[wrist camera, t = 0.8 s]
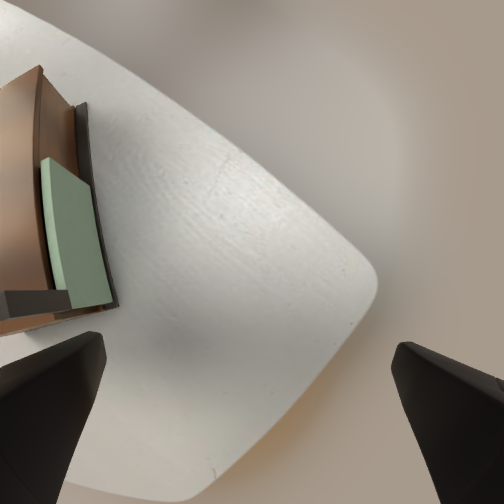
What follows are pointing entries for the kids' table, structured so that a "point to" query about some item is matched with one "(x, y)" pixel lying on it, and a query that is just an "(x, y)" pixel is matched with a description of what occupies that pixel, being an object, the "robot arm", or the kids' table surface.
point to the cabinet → (38, 188)
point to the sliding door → (64, 251)
